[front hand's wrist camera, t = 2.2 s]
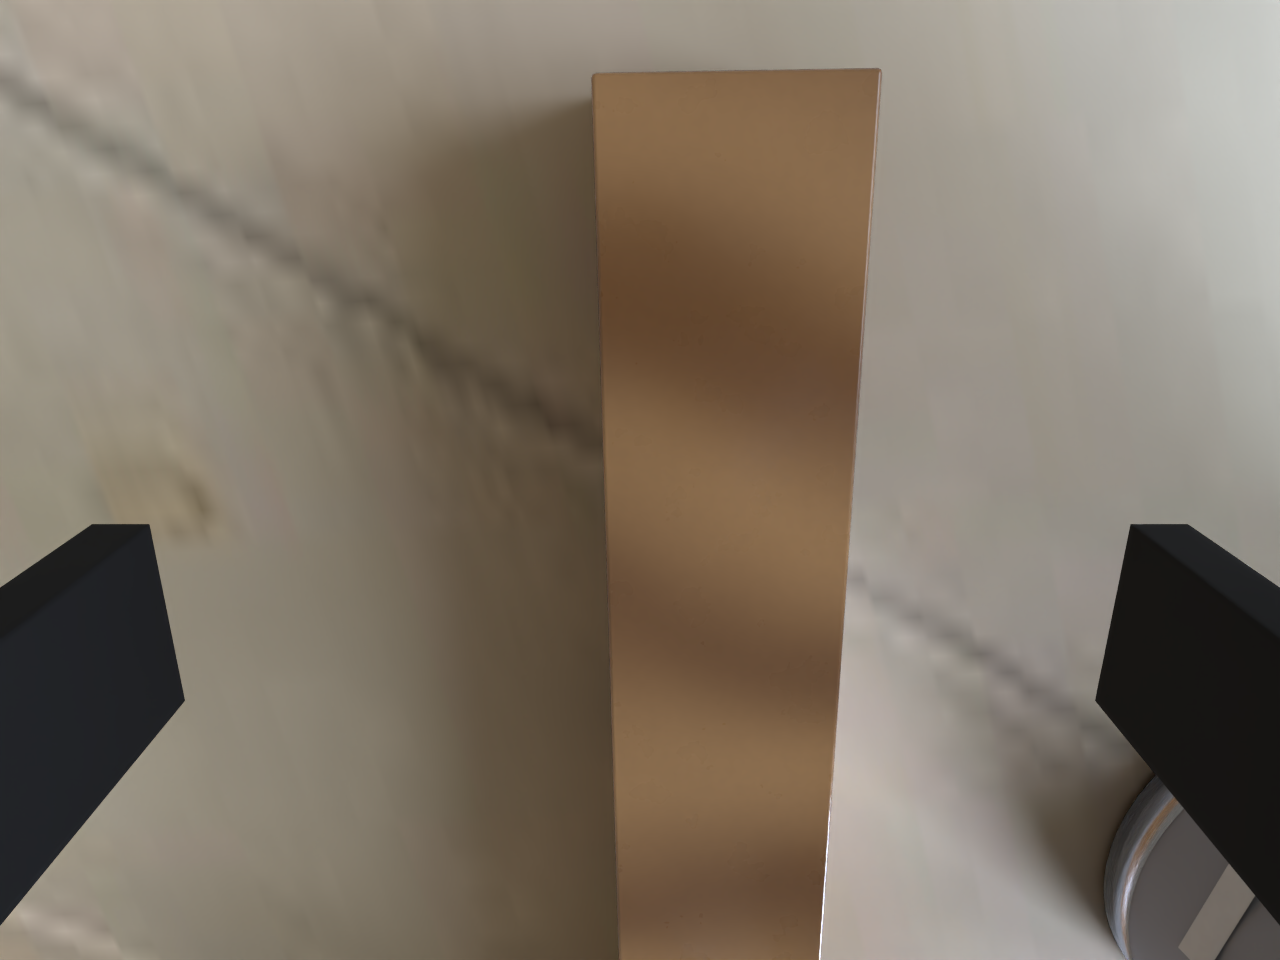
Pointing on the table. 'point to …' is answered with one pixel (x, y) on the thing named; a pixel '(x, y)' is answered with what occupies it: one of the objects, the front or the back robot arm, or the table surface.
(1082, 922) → the table surface
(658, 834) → the post
